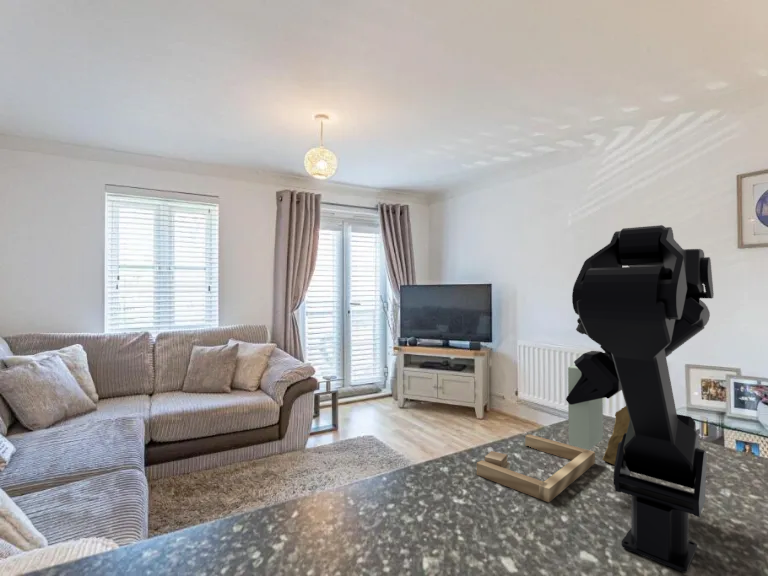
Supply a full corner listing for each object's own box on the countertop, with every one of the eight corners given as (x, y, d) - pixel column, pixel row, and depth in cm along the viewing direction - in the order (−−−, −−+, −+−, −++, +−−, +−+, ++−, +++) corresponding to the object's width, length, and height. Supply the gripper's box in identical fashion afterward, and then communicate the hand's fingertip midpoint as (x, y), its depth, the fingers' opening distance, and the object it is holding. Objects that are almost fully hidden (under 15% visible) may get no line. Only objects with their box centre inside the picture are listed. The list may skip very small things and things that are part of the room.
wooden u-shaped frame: (549, 502, 60) (549, 488, 60) (476, 474, 69) (476, 462, 69) (594, 463, 73) (594, 452, 73) (529, 444, 82) (529, 434, 82)
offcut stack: (498, 476, 68) (498, 462, 68) (480, 469, 71) (480, 455, 70) (509, 469, 71) (509, 455, 71) (492, 463, 73) (492, 449, 73)
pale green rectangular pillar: (589, 450, 62) (588, 369, 62) (568, 444, 64) (568, 367, 64) (602, 439, 66) (602, 364, 66) (583, 434, 68) (582, 361, 68)
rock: (623, 460, 69) (671, 446, 71) (595, 411, 73) (641, 399, 76) (590, 475, 77) (634, 462, 80) (567, 430, 82) (609, 419, 84)
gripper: (631, 292, 69) (564, 351, 77) (589, 294, 55) (514, 365, 63) (689, 344, 63) (610, 402, 71) (658, 360, 50) (566, 429, 58)
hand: (576, 397), depth 66 cm, fingers closed on pale green rectangular pillar, 6 cm apart
